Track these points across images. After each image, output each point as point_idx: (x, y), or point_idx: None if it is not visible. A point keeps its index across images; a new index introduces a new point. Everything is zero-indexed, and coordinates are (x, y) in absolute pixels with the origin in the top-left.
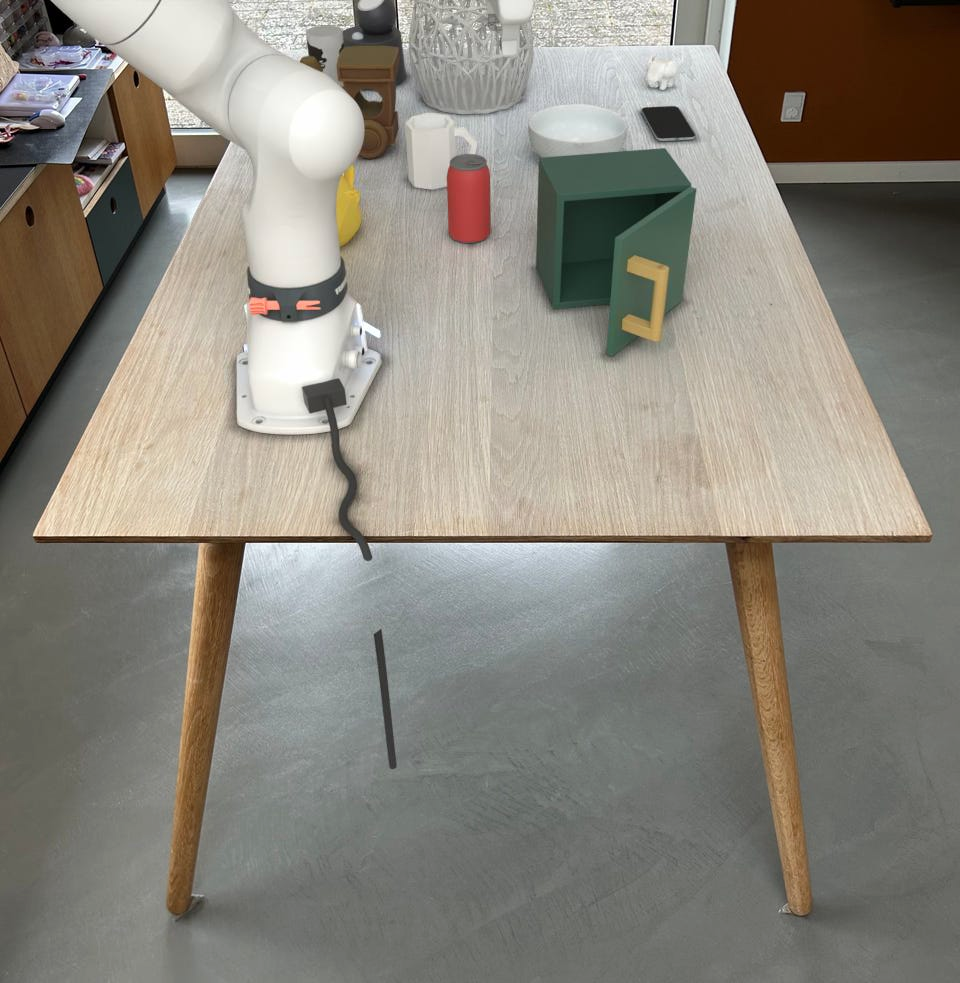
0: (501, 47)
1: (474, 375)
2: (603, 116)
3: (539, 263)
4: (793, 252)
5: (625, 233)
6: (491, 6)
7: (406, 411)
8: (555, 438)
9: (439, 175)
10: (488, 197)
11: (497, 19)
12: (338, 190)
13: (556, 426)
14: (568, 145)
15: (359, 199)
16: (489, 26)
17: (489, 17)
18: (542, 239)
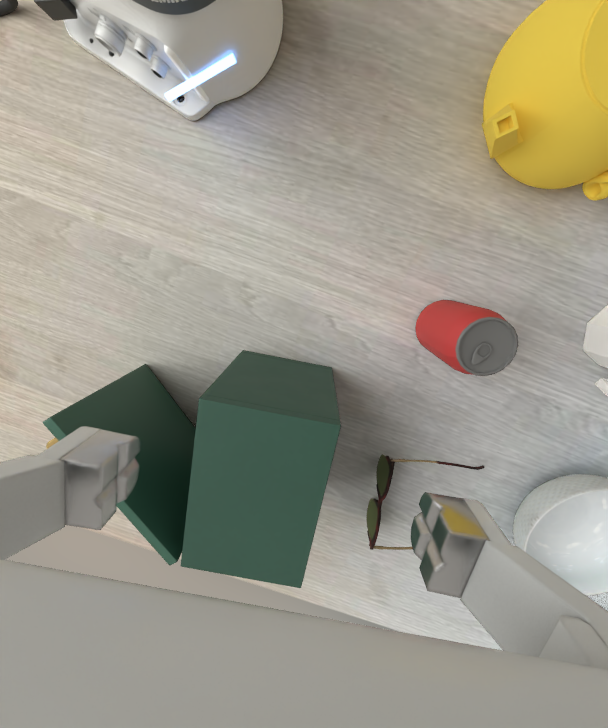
0: (80, 438)
1: (142, 222)
2: (602, 579)
3: (313, 368)
4: (269, 587)
5: (60, 434)
6: (30, 570)
7: (91, 122)
8: (23, 262)
9: (599, 338)
10: (439, 357)
11: (433, 554)
12: (557, 121)
13: (42, 270)
14: (541, 509)
15: (590, 198)
16: (431, 499)
17: (447, 530)
18: (300, 377)
